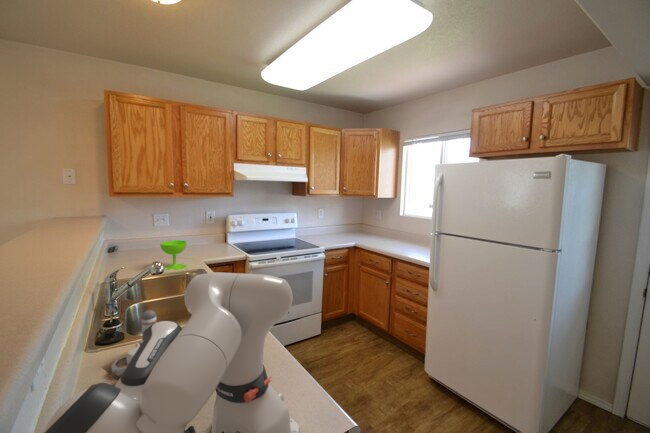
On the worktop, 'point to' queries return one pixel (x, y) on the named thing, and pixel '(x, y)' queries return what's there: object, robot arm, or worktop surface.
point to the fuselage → (148, 319)
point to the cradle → (117, 364)
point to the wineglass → (174, 252)
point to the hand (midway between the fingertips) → (153, 338)
